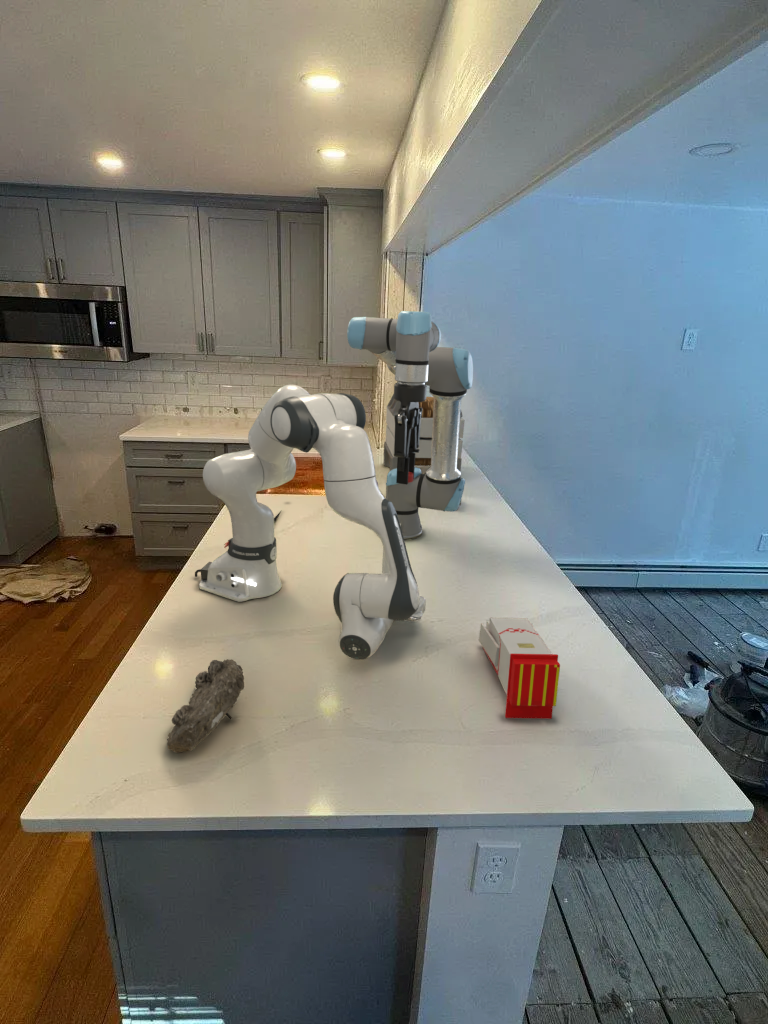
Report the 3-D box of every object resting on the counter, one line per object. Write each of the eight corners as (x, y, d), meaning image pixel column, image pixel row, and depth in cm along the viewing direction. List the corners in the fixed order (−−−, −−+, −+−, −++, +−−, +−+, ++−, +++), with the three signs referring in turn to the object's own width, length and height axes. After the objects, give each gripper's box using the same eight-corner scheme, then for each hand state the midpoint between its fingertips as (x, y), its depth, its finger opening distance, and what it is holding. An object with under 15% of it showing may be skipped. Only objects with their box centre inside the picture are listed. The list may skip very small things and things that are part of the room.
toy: (525, 603, 136) (569, 660, 107) (520, 654, 139) (562, 725, 109) (475, 601, 135) (505, 659, 106) (471, 653, 138) (499, 724, 109)
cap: (416, 481, 137) (417, 474, 136) (403, 483, 135) (403, 476, 134) (406, 477, 140) (407, 470, 139) (393, 479, 138) (394, 472, 137)
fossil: (192, 660, 117) (244, 628, 112) (224, 691, 120) (276, 661, 115) (142, 746, 98) (202, 712, 93) (182, 779, 101) (242, 748, 96)
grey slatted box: (382, 463, 289) (386, 382, 275) (445, 464, 293) (451, 384, 279) (390, 482, 257) (394, 392, 243) (460, 483, 261) (468, 394, 247)
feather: (288, 505, 226) (290, 501, 226) (271, 529, 199) (273, 524, 199) (284, 503, 226) (287, 499, 225) (266, 526, 199) (269, 522, 199)
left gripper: (420, 609, 131) (432, 583, 143) (337, 594, 136) (356, 570, 148) (418, 633, 133) (430, 605, 145) (336, 617, 138) (355, 592, 150)
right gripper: (407, 377, 138) (402, 470, 146) (381, 385, 123) (377, 488, 131) (436, 380, 135) (430, 474, 144) (414, 388, 121) (408, 492, 129)
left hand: (392, 587), depth 147 cm, fingers closed on bottle, 5 cm apart
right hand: (405, 480), depth 137 cm, fingers closed on cap, 4 cm apart
